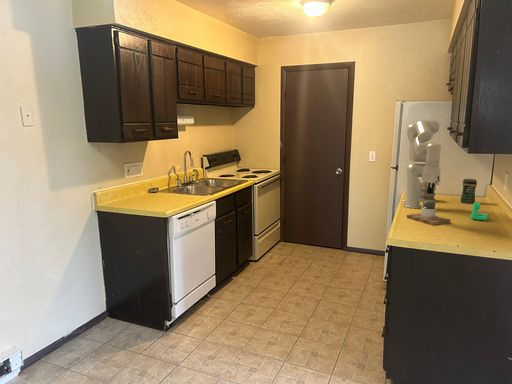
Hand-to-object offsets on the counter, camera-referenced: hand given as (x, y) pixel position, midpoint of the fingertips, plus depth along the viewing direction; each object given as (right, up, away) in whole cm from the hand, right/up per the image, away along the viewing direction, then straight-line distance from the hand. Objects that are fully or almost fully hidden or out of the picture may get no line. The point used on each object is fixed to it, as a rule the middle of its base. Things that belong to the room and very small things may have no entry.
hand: (430, 193), depth 227 cm
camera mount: (+34, -17, +6) cm, 39 cm away
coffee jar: (+56, -8, +56) cm, 79 cm away
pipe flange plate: (0, -17, +3) cm, 17 cm away
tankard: (+24, -6, +66) cm, 70 cm away
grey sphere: (0, -12, +2) cm, 12 cm away
